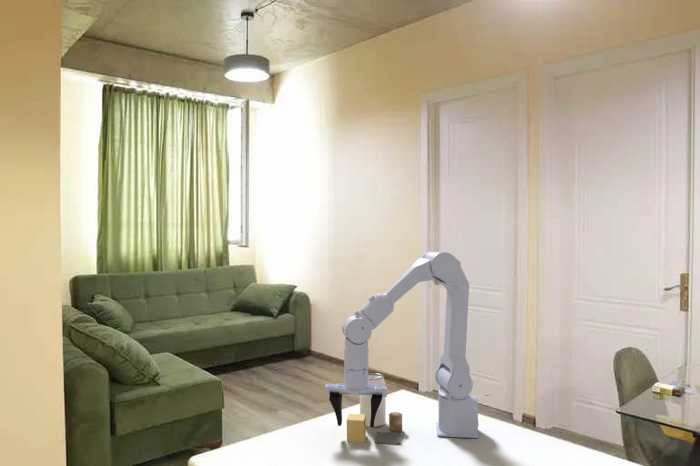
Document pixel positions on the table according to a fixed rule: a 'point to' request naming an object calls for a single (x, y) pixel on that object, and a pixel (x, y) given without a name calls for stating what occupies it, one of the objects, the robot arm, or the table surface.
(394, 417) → the cork cylinder
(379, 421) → the can
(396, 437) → the coaster
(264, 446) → the table surface
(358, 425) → the ochre block
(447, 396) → the robot arm
